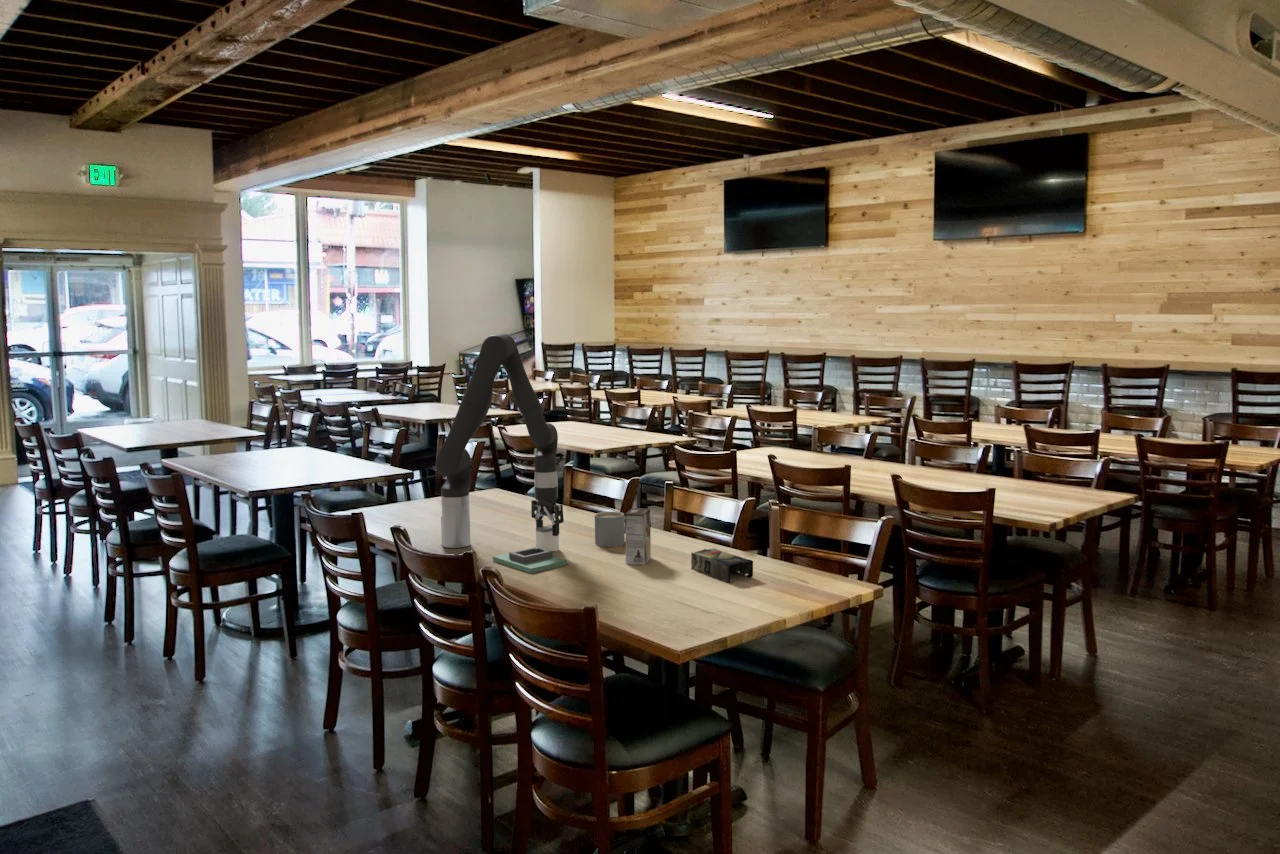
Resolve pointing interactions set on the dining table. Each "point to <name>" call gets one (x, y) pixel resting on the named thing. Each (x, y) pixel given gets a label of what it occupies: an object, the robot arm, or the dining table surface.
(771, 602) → the dining table surface
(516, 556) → the header board
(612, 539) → the coffee mug
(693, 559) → the juice carton
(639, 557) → the coffee box
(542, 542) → the plug
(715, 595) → the dining table surface
